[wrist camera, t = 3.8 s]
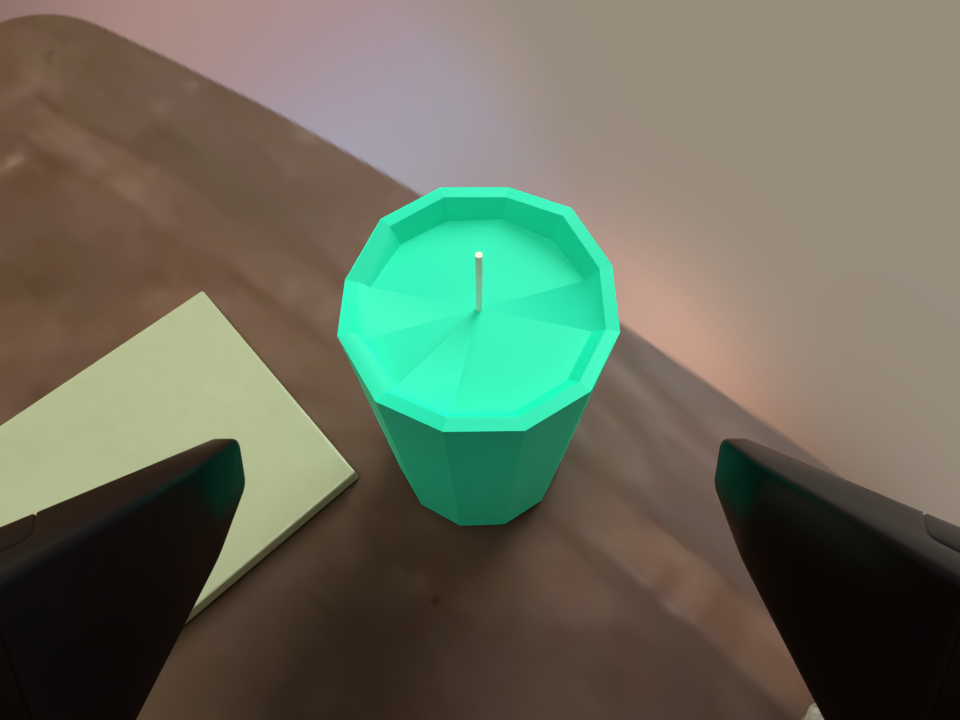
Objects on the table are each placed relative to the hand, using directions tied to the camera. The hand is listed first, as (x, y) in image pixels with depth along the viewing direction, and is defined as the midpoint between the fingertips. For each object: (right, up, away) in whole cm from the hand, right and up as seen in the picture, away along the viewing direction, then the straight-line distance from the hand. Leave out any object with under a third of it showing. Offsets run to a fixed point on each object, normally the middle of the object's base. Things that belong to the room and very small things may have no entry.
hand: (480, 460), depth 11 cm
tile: (-11, -2, +10) cm, 16 cm away
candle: (0, -1, +11) cm, 11 cm away
